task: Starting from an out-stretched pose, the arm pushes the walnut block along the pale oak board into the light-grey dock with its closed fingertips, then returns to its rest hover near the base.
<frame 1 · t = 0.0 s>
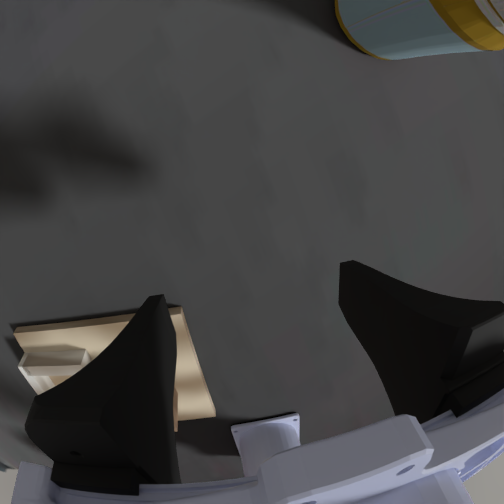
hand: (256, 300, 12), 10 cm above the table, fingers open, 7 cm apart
board: (116, 375, 26), on the table
bottle: (373, 19, 16), on the table
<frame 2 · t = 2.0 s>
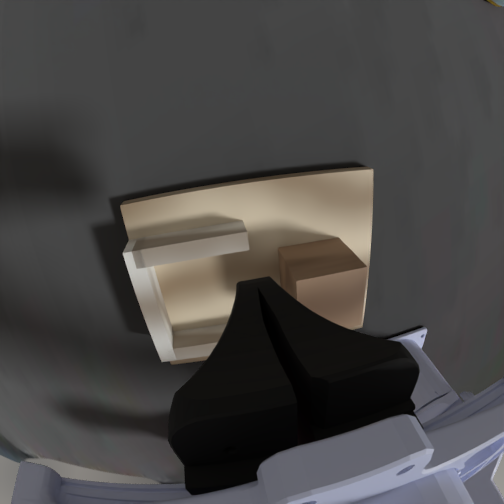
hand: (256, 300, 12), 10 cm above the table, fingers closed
block: (309, 270, 22), point 1 cm above the table, touching board
board: (260, 272, 23), on the table
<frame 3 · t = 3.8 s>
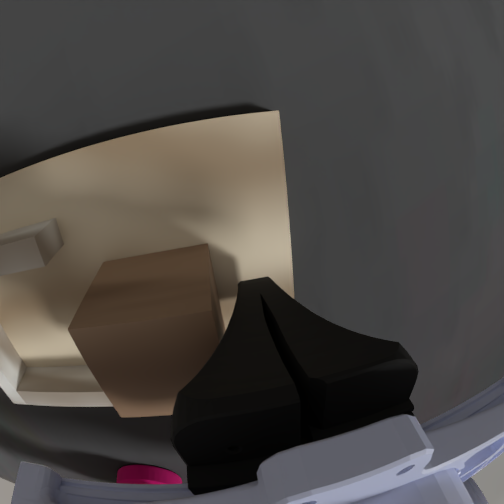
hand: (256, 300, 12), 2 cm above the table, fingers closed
block: (166, 299, 13), point 1 cm above the table, touching board, gripper
board: (111, 296, 14), on the table
pepper mill: (149, 475, 22), on the table
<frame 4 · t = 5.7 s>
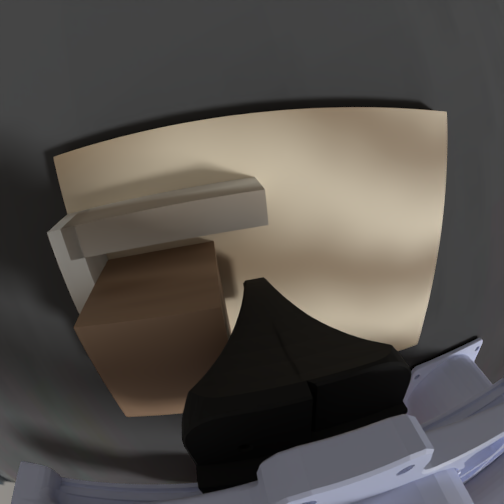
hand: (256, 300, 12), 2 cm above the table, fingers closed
block: (171, 297, 13), point 1 cm above the table, touching board, gripper
board: (281, 267, 14), on the table
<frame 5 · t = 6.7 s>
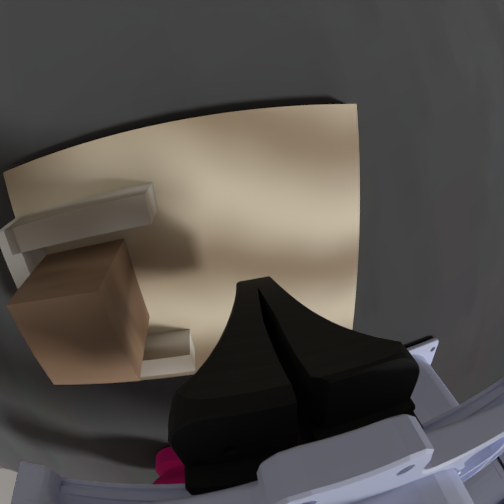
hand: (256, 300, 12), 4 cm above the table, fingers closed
block: (97, 286, 14), point 1 cm above the table, touching board
board: (192, 262, 16), on the table
pepper mill: (188, 456, 24), on the table
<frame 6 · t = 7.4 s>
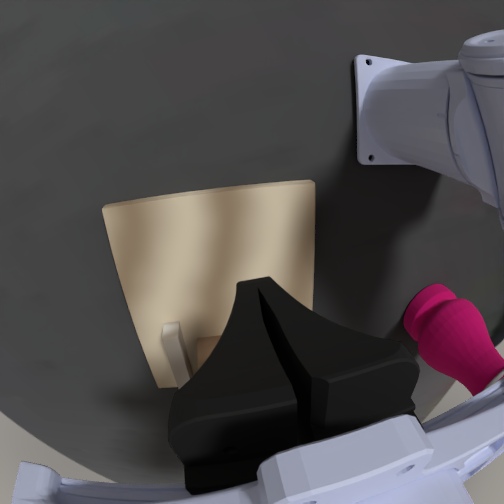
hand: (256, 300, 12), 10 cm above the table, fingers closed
block: (228, 354, 25), point 1 cm above the table, touching board
board: (220, 298, 24), on the table
pepper mill: (425, 307, 28), on the table
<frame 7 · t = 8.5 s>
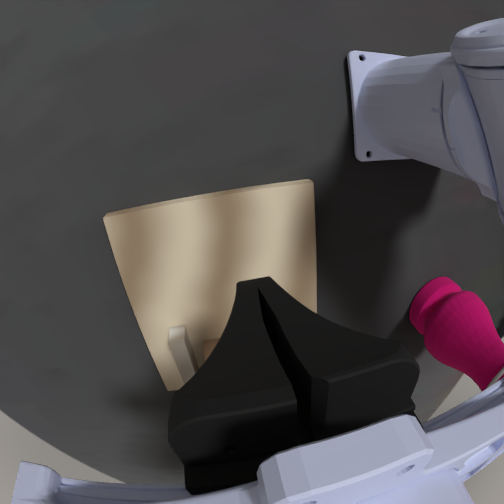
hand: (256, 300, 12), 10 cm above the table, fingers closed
board: (225, 300, 24), on the table
pepper mill: (430, 301, 28), on the table
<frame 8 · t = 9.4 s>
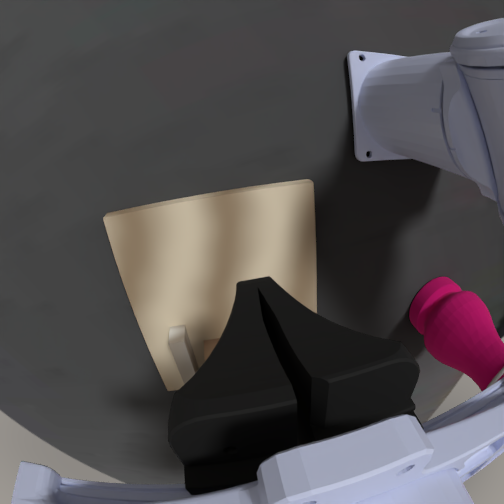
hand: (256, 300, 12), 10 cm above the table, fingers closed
board: (225, 300, 24), on the table
pepper mill: (430, 301, 28), on the table
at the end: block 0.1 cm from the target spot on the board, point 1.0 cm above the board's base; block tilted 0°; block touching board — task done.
